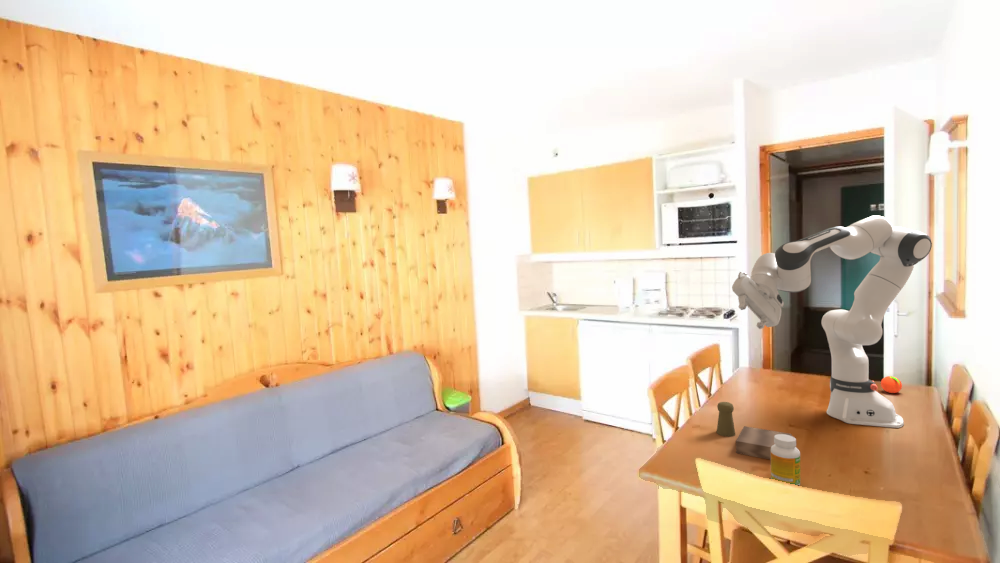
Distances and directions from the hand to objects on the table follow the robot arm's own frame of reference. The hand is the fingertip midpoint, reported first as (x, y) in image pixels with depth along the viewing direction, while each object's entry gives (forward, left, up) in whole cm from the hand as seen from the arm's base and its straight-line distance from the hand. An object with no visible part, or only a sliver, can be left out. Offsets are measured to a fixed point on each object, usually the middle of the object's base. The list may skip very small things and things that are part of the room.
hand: (750, 317), depth 159 cm
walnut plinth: (-4, +5, -42) cm, 42 cm away
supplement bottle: (-12, +25, -42) cm, 50 cm away
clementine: (-40, -78, -42) cm, 97 cm away
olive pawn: (+9, -3, -42) cm, 43 cm away
